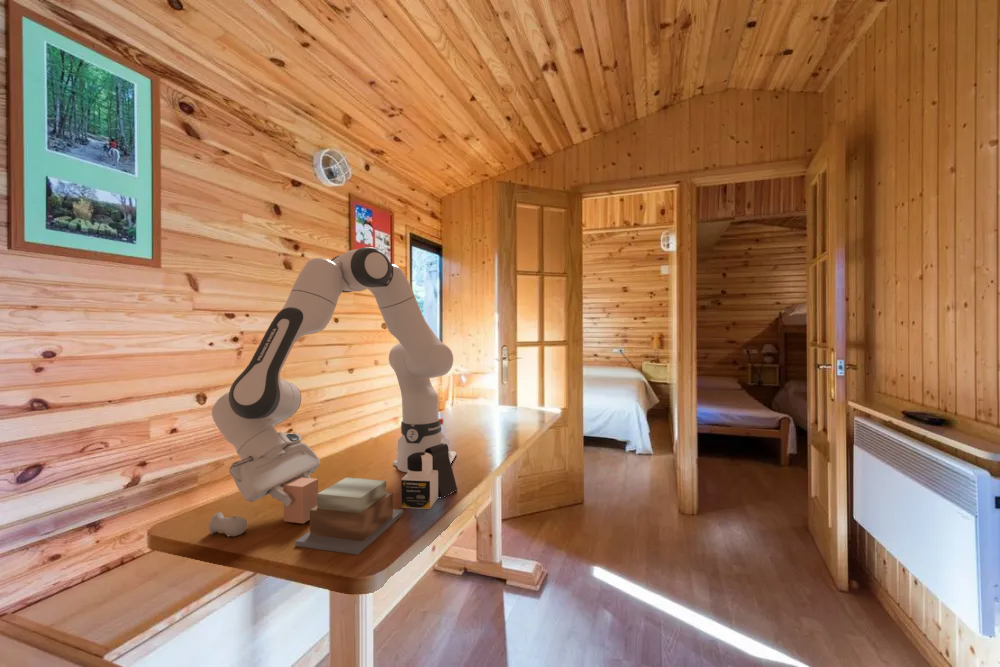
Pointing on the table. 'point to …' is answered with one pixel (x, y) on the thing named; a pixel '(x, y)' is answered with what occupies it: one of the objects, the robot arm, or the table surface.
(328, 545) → the base plate
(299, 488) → the terracotta brick
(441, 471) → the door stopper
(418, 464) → the medicine bottle
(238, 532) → the smooth white sculpture
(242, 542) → the table surface
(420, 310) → the robot arm
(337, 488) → the brick tower
